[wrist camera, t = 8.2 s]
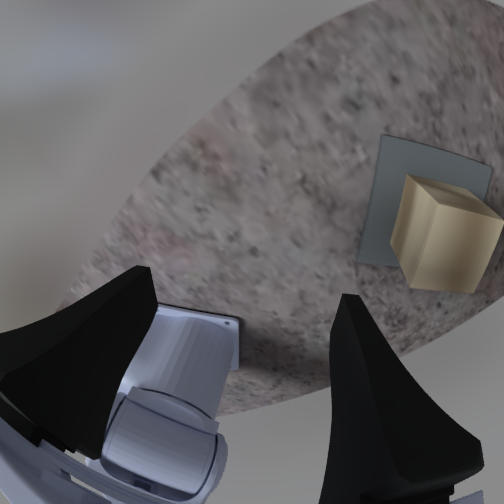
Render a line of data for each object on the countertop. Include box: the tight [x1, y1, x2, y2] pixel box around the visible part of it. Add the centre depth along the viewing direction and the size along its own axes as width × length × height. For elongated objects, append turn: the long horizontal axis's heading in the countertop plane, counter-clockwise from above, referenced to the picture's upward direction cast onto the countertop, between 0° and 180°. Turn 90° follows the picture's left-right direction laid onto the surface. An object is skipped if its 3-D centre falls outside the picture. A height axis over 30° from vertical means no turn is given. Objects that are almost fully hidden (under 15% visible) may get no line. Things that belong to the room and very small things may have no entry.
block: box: [390, 174, 504, 294], centre depth 14 cm, size 5×5×5 cm
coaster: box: [356, 134, 492, 267], centre depth 16 cm, size 9×9×1 cm
